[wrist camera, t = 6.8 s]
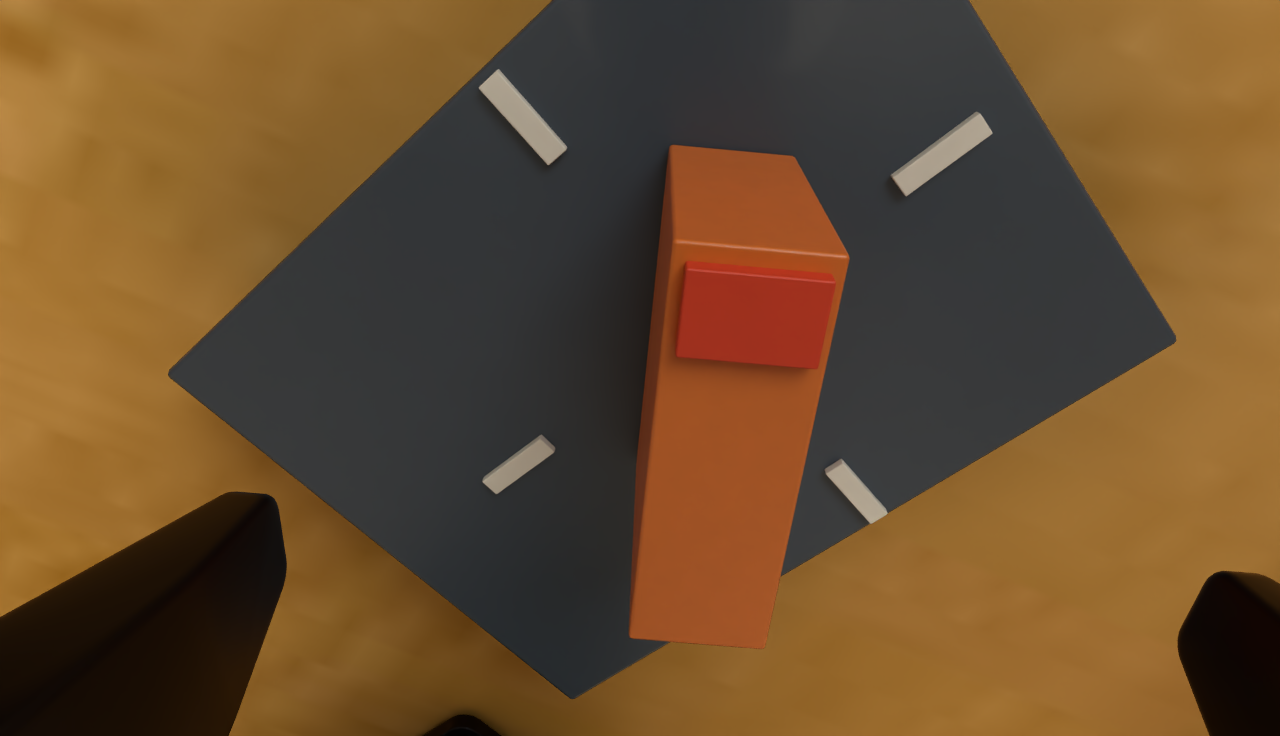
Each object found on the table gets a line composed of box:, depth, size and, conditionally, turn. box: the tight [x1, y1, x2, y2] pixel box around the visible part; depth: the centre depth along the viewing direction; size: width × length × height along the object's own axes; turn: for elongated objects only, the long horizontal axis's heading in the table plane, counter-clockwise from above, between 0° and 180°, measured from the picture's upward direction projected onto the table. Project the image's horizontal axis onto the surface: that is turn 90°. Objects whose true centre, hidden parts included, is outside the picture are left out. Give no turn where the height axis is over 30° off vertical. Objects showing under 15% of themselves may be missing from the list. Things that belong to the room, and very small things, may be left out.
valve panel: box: [168, 0, 1176, 699], centre depth 15 cm, size 13×10×3 cm
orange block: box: [629, 145, 850, 649], centre depth 11 cm, size 6×2×4 cm, turn 175°
